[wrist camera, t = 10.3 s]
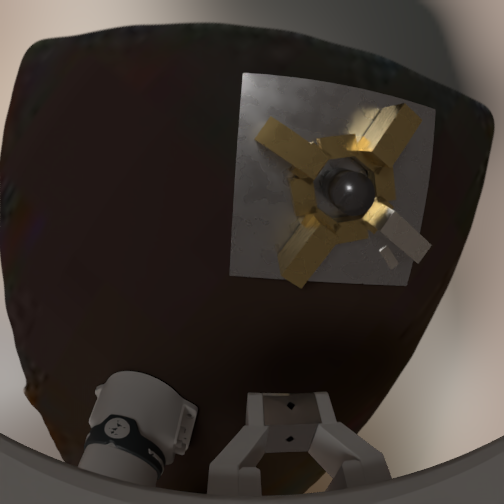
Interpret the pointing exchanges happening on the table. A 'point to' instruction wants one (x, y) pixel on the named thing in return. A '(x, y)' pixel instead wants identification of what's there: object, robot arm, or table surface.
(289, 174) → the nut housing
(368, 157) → the gold propeller
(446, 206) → the table surface
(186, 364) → the table surface
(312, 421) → the robot arm
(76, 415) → the table surface
